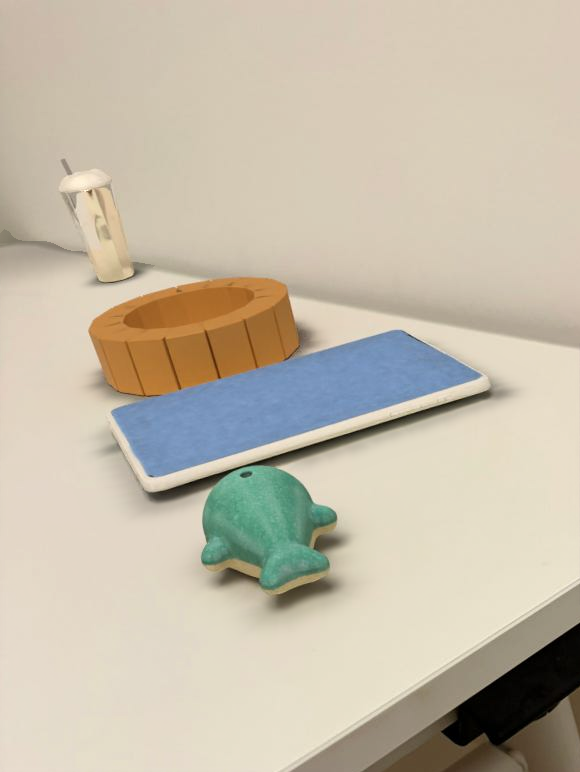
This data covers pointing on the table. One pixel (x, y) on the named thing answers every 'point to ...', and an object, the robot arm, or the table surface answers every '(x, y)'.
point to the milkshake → (97, 222)
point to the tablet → (286, 407)
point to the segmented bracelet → (194, 334)
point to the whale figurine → (265, 528)
